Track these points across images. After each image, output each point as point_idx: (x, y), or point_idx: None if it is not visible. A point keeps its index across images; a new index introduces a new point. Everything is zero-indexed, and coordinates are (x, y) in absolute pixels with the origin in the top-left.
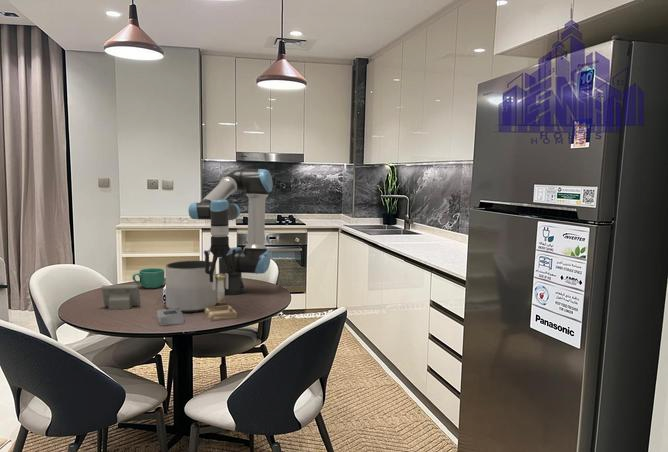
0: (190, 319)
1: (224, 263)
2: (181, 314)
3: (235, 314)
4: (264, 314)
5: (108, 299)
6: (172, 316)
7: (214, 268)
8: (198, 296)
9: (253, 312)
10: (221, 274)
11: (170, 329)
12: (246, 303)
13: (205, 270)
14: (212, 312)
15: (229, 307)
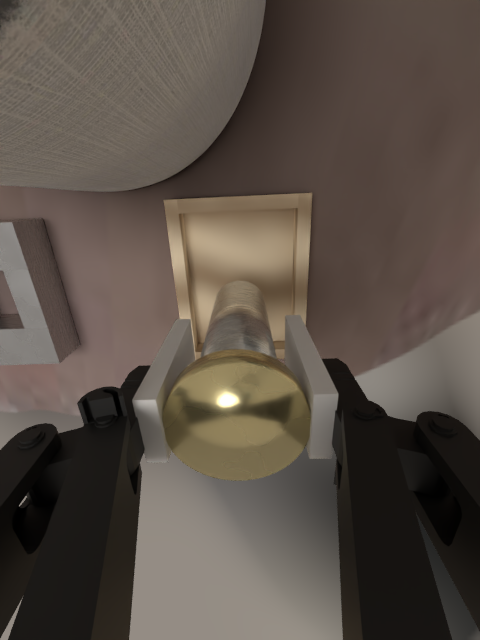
0: (103, 299)
1: (354, 572)
2: (48, 352)
3: None
4: (426, 337)
5: None
6: (12, 363)
7: (132, 555)
8: (97, 186)
9: (399, 289)
10: (255, 424)
11: (40, 395)
12: (464, 56)
13: (2, 471)
14: (207, 243)
15: (297, 254)
